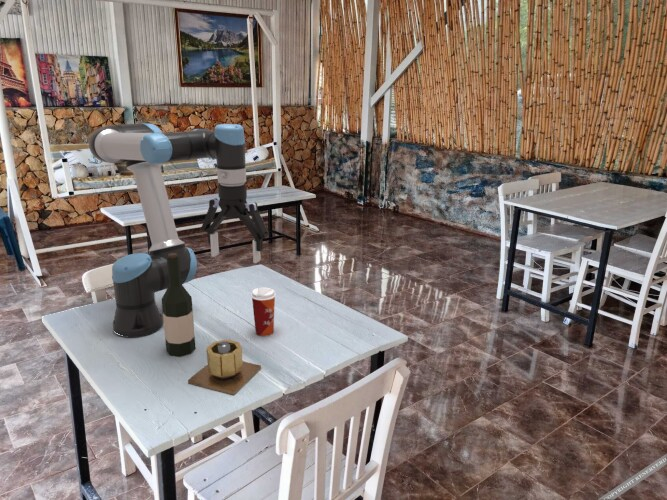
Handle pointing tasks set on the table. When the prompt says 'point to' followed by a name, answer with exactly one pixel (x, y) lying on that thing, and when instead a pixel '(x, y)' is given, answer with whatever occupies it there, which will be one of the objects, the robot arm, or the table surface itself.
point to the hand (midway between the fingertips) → (235, 258)
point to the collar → (224, 359)
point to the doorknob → (229, 382)
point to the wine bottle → (177, 312)
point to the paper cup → (263, 310)
